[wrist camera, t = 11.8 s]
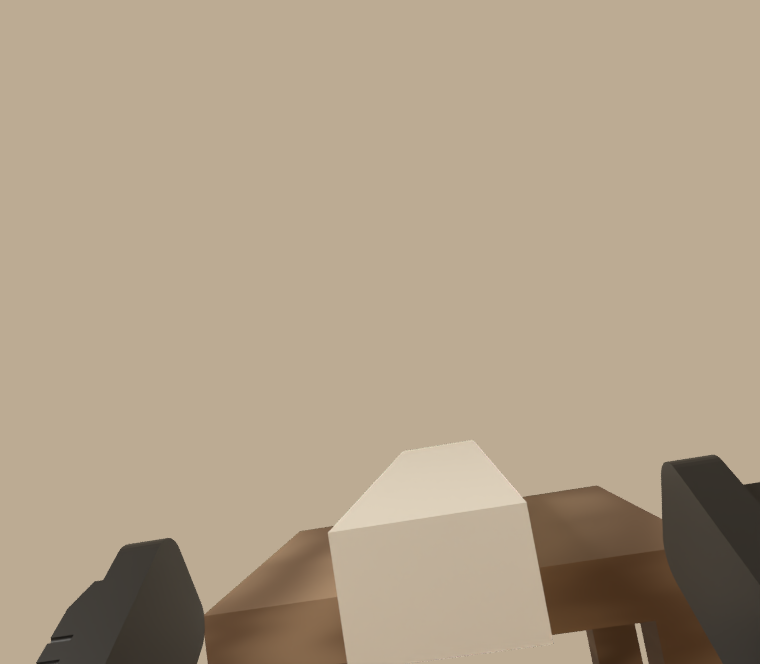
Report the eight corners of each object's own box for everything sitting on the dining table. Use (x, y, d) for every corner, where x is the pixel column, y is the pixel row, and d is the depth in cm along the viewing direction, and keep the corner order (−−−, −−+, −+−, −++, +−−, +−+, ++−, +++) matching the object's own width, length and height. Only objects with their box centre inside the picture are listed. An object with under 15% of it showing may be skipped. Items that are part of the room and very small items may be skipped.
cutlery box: (348, 671, 14) (327, 532, 14) (410, 499, 40) (402, 451, 40) (553, 643, 13) (526, 502, 14) (481, 487, 39) (473, 439, 40)
